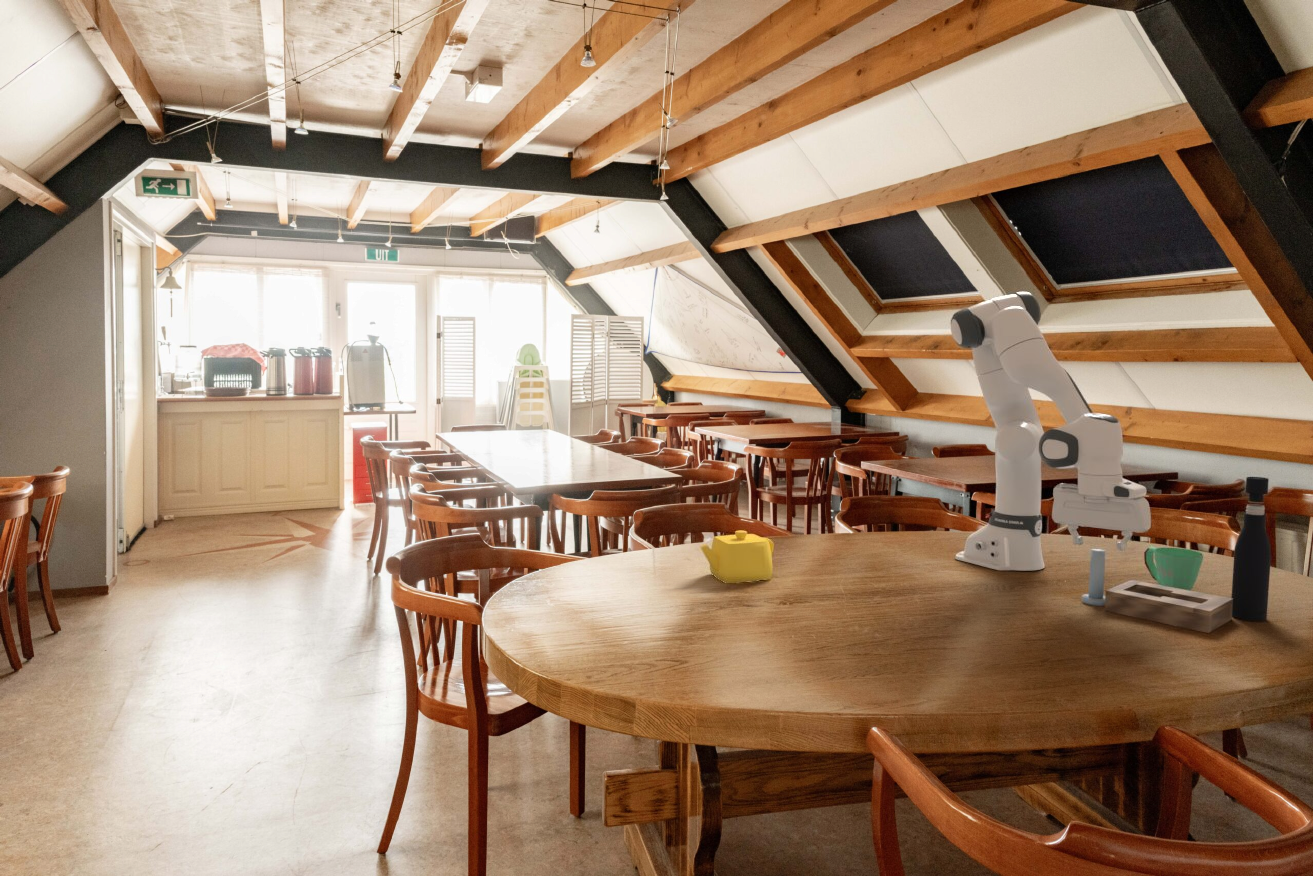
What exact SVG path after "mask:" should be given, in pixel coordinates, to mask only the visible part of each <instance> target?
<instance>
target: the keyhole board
mask: <svg viewBox="0 0 1313 876" xmlns="http://www.w3.org/2000/svg"><path fill="white" fill-rule="evenodd" d="M1104 596H1105V606H1104V611H1105V612H1110V613H1113V614H1118V615H1123V616H1124V615H1125V616H1128V617H1131V618H1132V617H1134V618H1136V619H1140V620H1141V619H1142V620H1147V621H1150V622H1156V623H1161V624H1165V625H1170V626H1174V627H1179V628H1183V629H1188V630H1192V631H1197V632H1203V633H1207V634H1210V633H1211V632H1213V631H1215V630H1216V629H1218V628H1220V627H1222V626H1223V625H1225V624H1226V623H1228V622H1230V621H1231V620H1232V619H1233V617H1232V608H1233V599H1232V598H1231V597H1226V596H1223V595H1216V594H1209V593H1204V592H1198V591H1195V590H1194V591H1193V590H1191V591H1189V590H1184V589H1178V588H1173V587H1168V586H1162V585H1160V584H1157V583H1150V582H1145V581H1140V580H1134V579H1131V580H1128V581H1126V582H1124V583H1123V582H1122V583H1120V584H1118V585H1116V586H1114V587H1111V588H1108V589H1106V590H1105V595H1104Z"/></svg>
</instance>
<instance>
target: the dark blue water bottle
mask: <svg viewBox="0 0 1313 876" xmlns="http://www.w3.org/2000/svg"><path fill="white" fill-rule="evenodd" d="M1245 479H1246V480H1245V493H1246V494H1248V501H1247V503H1249V504H1246V506H1245V508H1246V509H1245V513H1243V514H1244V517H1243V526H1242V527H1241V530H1240V532H1239V533H1238V536H1237V540H1236V543H1235V546H1234V550H1233V551H1234V552H1233V567H1232V568H1233V569H1232V583H1231V595H1230V596H1231V597H1230V598H1232V599H1233V608H1232V618H1235V619H1237V620H1241V621H1246V622H1257V623H1258V622H1259V623H1261V622H1266V621H1267V618H1268V605H1269V604H1268V603H1269V602H1268V601H1269V590H1270V575H1271V574H1270V573H1271V562H1272V561H1271V559H1272V550H1271V543H1270V539H1269V535H1268V533H1267V530H1266V529H1267V528H1266V521H1267V520H1266V519H1267V515H1266V514H1265V510H1266V508H1265V505H1263V504H1264V495H1268V494H1269V482H1270V480H1269V478H1268V477H1262V476H1247V477H1246V478H1245Z"/></svg>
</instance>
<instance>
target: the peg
mask: <svg viewBox="0 0 1313 876" xmlns="http://www.w3.org/2000/svg"><path fill="white" fill-rule="evenodd" d="M1106 551H1107V550H1105V549H1099V548H1091V549H1090V555H1089V556H1090V558H1089V573H1088V575H1089V576H1088V577H1089V579H1088V593H1085V594H1082V595H1081V602H1082V603H1083V604H1085V605H1089V606H1095V607H1105V595H1104V593H1105V592H1104V591H1105V570H1106Z"/></svg>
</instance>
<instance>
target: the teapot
mask: <svg viewBox="0 0 1313 876" xmlns="http://www.w3.org/2000/svg"><path fill="white" fill-rule="evenodd" d="M712 540H713V541H712V544H711V547H709V545H708V544H703V545H701V546H699V547H700V550H701V552H702V553H703V554H704V557H705V558H706V560H707V561H708V564H709V570H710V574H711V573H712V574H713V575H715V576H716V577H717V578H719V579H720V580H722V581H724V582H726V583H736V584H738V583H737V582H747V581H757V580H764V579H770V578H772V576H773V557H772V556H773V552H774V549H775V544H774V542H773V541H772V540H771V539H769V538H767V537H761V536H759V535H757V534H754V533H748V531H746V530H736V531H734V534H726V535H716V536H713V539H712ZM717 578H716V579H717ZM720 580H719V581H720ZM770 580H771V579H770ZM722 581H721V582H722ZM724 582H723V583H724ZM726 583H725V584H726Z"/></svg>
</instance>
